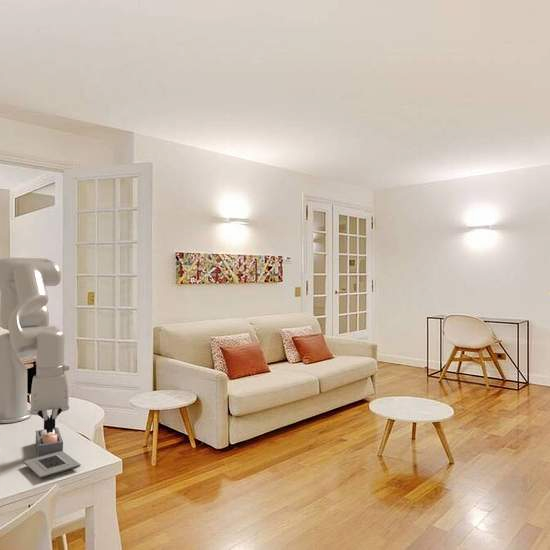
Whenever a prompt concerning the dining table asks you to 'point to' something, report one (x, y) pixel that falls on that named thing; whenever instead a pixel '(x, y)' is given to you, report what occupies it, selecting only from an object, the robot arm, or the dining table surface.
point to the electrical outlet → (52, 464)
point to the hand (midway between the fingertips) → (49, 431)
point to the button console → (48, 444)
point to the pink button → (49, 438)
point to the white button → (46, 432)
